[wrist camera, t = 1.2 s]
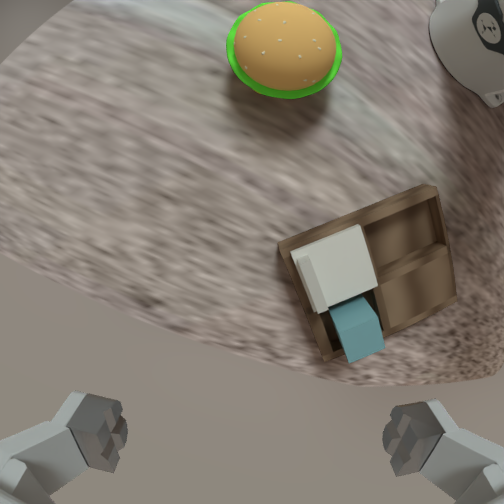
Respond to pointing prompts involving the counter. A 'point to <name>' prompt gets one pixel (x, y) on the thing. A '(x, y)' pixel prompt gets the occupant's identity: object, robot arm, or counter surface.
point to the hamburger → (284, 50)
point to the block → (357, 327)
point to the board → (389, 263)
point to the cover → (335, 268)
